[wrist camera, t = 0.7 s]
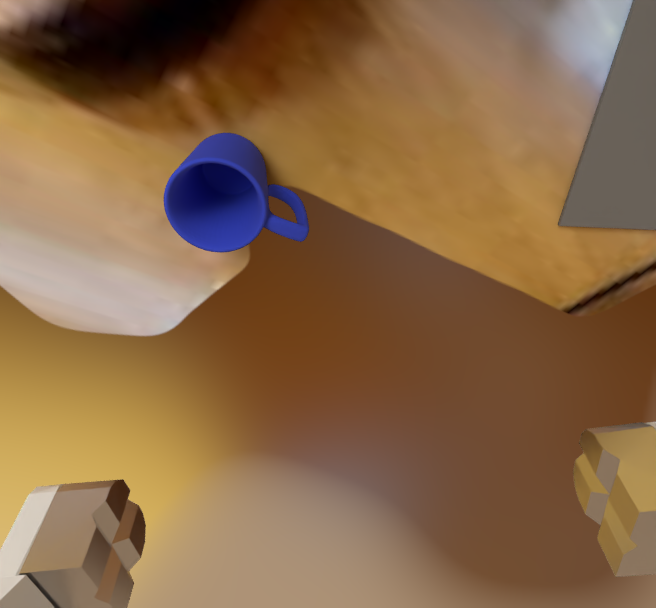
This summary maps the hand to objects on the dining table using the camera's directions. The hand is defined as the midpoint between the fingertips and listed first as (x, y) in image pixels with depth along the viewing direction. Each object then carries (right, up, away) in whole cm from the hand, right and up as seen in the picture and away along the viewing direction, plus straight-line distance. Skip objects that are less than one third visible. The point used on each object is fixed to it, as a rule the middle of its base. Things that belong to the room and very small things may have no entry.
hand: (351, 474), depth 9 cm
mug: (-8, +16, +42) cm, 45 cm away
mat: (+31, +20, +40) cm, 54 cm away
